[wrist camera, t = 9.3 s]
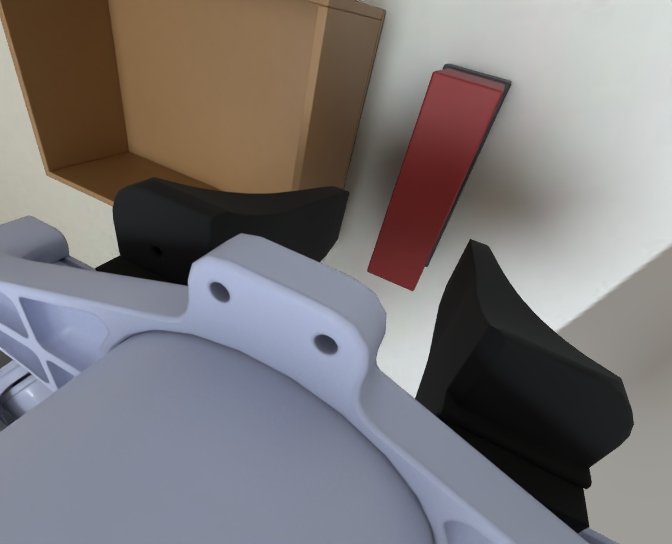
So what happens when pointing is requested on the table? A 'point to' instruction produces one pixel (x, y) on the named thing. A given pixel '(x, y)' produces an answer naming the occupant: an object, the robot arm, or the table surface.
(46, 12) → the carton
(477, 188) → the table surface
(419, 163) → the stapler
